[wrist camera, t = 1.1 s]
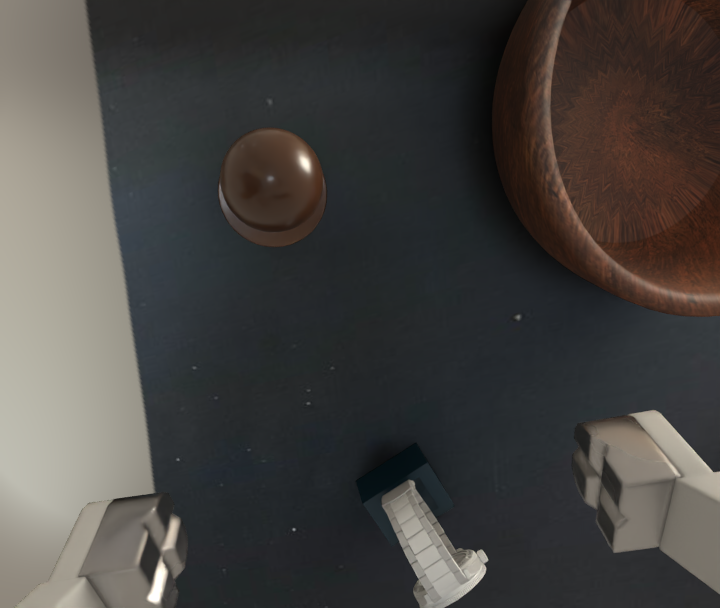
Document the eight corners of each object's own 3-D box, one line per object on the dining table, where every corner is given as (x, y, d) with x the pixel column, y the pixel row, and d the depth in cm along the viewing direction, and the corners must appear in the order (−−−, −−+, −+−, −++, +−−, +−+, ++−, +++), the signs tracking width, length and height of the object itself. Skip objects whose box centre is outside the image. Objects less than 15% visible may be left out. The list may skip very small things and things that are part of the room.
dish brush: (206, 172, 34) (81, 115, 12) (292, 128, 34) (325, -8, 12) (255, 258, 35) (224, 348, 13) (336, 214, 36) (437, 233, 14)
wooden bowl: (626, -155, 34) (770, -302, 24) (826, 108, 40) (1007, 77, 30) (387, 140, 35) (431, 115, 25) (616, 352, 41) (725, 399, 31)
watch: (395, 538, 41) (437, 655, 31) (344, 463, 39) (370, 560, 29) (453, 501, 42) (515, 603, 31) (406, 424, 40) (454, 506, 29)
